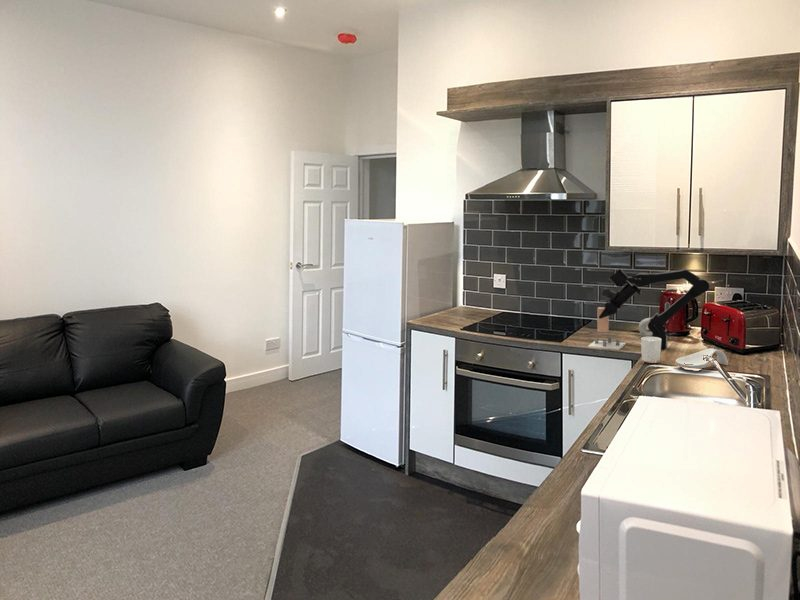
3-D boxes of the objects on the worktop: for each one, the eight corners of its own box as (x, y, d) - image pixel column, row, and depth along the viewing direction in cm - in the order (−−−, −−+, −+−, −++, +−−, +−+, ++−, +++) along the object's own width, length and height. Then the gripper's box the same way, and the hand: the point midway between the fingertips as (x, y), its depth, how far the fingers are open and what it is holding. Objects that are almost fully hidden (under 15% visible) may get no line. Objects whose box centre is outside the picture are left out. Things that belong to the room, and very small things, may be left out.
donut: (638, 337, 307) (638, 317, 306) (638, 336, 311) (639, 316, 309) (659, 339, 303) (660, 318, 302) (660, 337, 306) (660, 317, 305)
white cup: (650, 365, 254) (651, 341, 252) (636, 361, 261) (636, 337, 260) (665, 362, 257) (665, 339, 255) (650, 359, 264) (651, 335, 263)
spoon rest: (693, 375, 238) (694, 357, 237) (668, 368, 248) (669, 351, 247) (735, 367, 248) (736, 349, 247) (709, 361, 258) (710, 344, 257)
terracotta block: (608, 330, 295) (608, 307, 293) (607, 332, 291) (607, 308, 289) (598, 329, 297) (598, 307, 295) (597, 331, 292) (597, 308, 291)
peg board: (625, 344, 294) (625, 337, 293) (619, 350, 282) (619, 343, 281) (595, 341, 301) (595, 335, 300) (587, 347, 289) (588, 340, 289)
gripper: (614, 279, 297) (590, 302, 303) (609, 284, 280) (584, 307, 287) (631, 296, 295) (607, 318, 301) (628, 301, 278) (602, 325, 284)
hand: (600, 317), depth 293 cm, fingers closed on terracotta block, 5 cm apart
